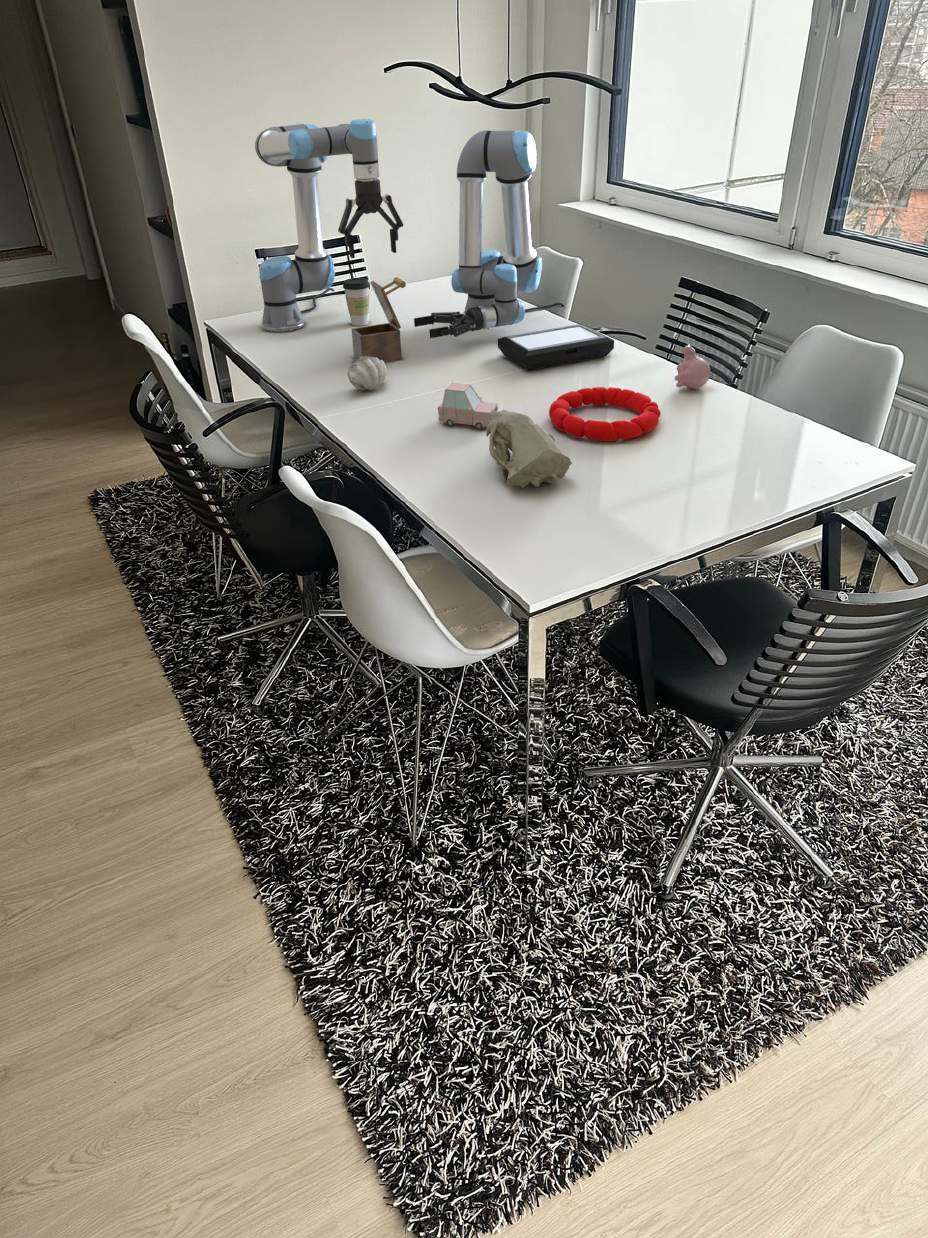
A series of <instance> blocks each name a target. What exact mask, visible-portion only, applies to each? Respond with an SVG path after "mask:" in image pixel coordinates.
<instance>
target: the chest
mask: <svg viewBox="0 0 928 1238" xmlns="http://www.w3.org/2000/svg"><path fill="white" fill-rule="evenodd" d="M350 330H351V339H352V349H353V358H354V359H360V357H361V356H363V357H365V356H368V357H374V358H376V357H377V358H378V359H379V360H383V361H384V363H389V362H390V363H391V362H395V361H401V360H403V355H402V354H403V353H402V341H401V339H402V338H401V330H400V329H398V328H396V327H395V326H394V325H392V324H391V323H390V322H385V323H378V324H373V325H367V326H366V325H364V326H358V327H353V328H350Z"/></svg>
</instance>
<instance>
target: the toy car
mask: <svg viewBox="0 0 928 1238" xmlns="http://www.w3.org/2000/svg"><path fill="white" fill-rule="evenodd" d="M498 409H499V404H498V403H497V402H490V401H489V402H487V401H483V397H481V396H480V395H479V394H478V393H477V391H476V390H475V389H474V386H472V384H469V383H459V382H451V383H450V384H449V385H448V386H447V387H446V388H445V389H444V394H443V399H442V403H440V404H439V405H438V406H437V413H438V421H439V422H443V423H446V425H447V426H448V427H452V426H454V425H455V424H461V425H469V426H473V427H475V429H476V430H479V431H480V430H481V429H483V428H485V427H486V428H487V423H488V422H490V414H491V413H492V412H496V411H499V410H498Z"/></svg>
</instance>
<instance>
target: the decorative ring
mask: <svg viewBox="0 0 928 1238" xmlns="http://www.w3.org/2000/svg"><path fill="white" fill-rule="evenodd" d="M583 405H584V406H586V407H587V406H591V405H593V406H604V405H608V406H614V407H619V408H624V409H628V410H632V411H635V412H636V413H638V414H639V415H637V416H635V417H632V418H631V419H630V420H625V419H624V420H623V419H622V420H614V421H611V422H609V421H607V420H606V421H605V420H593V419H587V420H586V421H585V419H584V418H582V417H579V416H577V415H573V414H571V413H570V410H571V409H579V408H581V407H582V406H583ZM548 416H549V419H550V422H551V423H552V425H553V426H554V427H555V428H556V429H558V430H559V431H561V432H563V433H567V434H568V435H569V436H573V437H576V438H580V439H582V438H583V437H585V438H586V439H587V440H591V441H601V442H602V441H603V442H608V441H609V442H610V441H611V442H612V441H615V442H616V441H618V440H630V439H634V438H638V437H641V436H642V434H647V433H650V432H651V431H653V430H654V429H655V428H656V427H657V426H658V424H659V422H660V421H659V420H660V417H661V410H660V408H659V405H658V403H657V402H656V401H652V399H651V397H649V396H648V395H646V394H644V393H642V392H635V391H634V390H632V389H628V388H624V389H622V388H620V387H613V386H612V387H611V386H610V387H608V388H606V387H604V386H594V387H585V388H584V387H583V388H580V389H578V390H571V391H568V392H565V393H563V394H561V395H560V396H558V397H557V398H556V400H554V401H552V403H551V404H550V407H549V409H548Z"/></svg>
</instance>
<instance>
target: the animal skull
mask: <svg viewBox="0 0 928 1238" xmlns="http://www.w3.org/2000/svg"><path fill="white" fill-rule="evenodd" d="M485 436H486V438H487V437H489V438H488V440H489V444H488V445H489V446H488V450H489V454H490V456H491V457H492V458H493V459H494V460H495V462H496V464H497V466H499V468H500V470H501V471H502V472H501V478H502V479H507V480H506V484H507V486H517V487H518V486H519V488H523V489H524V488H526V486H527V485H529V483H531V485H533V486H534V487H536V488H540V485H541V484H542V482H544V483H549V484H550V485H553V484H555V483H556V482H557V480H561V479H563V478H565V476H566V474H567V472H568V471H569V469H570V467H571V466H572V464H573V462H572V461H571V458H570V457H568V456H567V455H565V453H564V451H562V449H561V448H560V446H559V444H557V443H556V439H555V438H554V436H553V435H551V434H550V433H548V432H547V431H546V430H545V429H544V428H542V427H541V426H539V425H538V424H537V423H536V424H535V422H534V421H533V419H532V418H531V417H530V416H529V415H527V414H524V413H519V412H515V411H509V410H507V409H502V410H500V411H499V410H497V411H496V412H492V413H491V414H490V422H488V423H487V427H486V435H485ZM511 453H512V454H511ZM511 455H512V457H513V458H512V460H511ZM507 474H508V475H507Z"/></svg>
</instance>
